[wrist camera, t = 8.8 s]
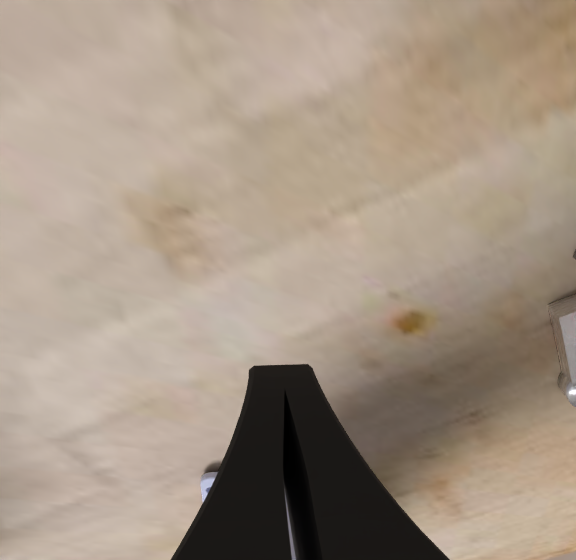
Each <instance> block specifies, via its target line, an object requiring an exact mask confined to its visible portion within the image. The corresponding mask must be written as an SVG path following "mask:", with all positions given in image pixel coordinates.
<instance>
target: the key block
mask: <svg viewBox="0 0 576 560" xmlns="http://www.w3.org/2000/svg"><path fill="white" fill-rule="evenodd" d="M548 309H549V313H550V318H551V323H552V327H553V332H554V337H555V342H556V346H557V351H558V356H559V360H560V365H561V370H562V372H561V373H560V375H559V378H558V385H559V388H560V389H561V391H562V392H563V393H564V395H565V396H566V398H567V399H568V400H569V402H570V403H571V404H572V405H573V406H574V407H576V294H574V295H571V296H569V297H566V298H564V299H561V300H558V301H556V302H553V303H550V304H548Z"/></svg>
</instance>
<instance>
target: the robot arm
mask: <svg viewBox="0 0 576 560" xmlns="http://www.w3.org/2000/svg"><path fill="white" fill-rule="evenodd" d="M201 492H202V500H203V504H202V506H201V508H200V510H199V512H198V514H197V515H196V517H195V519H194V521H193V523H192V524H191V526H190V528H189V529H188V531H187V533H186V535H185V536H184V538H183V540H182V542H181V543H180V545H179V547H178V548H177V550H176V552H175V553H174V555H173V557H172V558H171V560H449V559H448V557H447V556H446V555H445V554H444V553H443V552H442V551H441V550H440V549H439V548H438V547H437V546H436V545H435V544H434V543H433V542H432V541H431V540H430V539H429V538H428V537H427V536H426V535H425V534H424V533H423V532H422V531H421V530H420V529H419V528H418V526H417V525H416V524H415V523H414V522H413V521H412V520H411V518H410V517H409V516H408V515H407V514H406V513H405V512H404V510H403V509H402V508H401V507H400V506H399V505H398V503H397V502H396V501H395V500H394V498H393V497H392V496H391V495H390V494H389V492H388V491H387V490H386V489H385V487H384V486H383V485H382V483H381V482H380V481H379V480H378V478H377V477H376V475H375V474H374V473H373V471H372V470H371V469H370V467H369V466H368V464H367V463H366V462H365V460H364V459H363V457H362V456H361V455H360V453H359V452H358V450H357V449H356V447H355V446H354V444H353V443H352V441H351V440H350V438H349V436H348V435H347V433H346V431H345V430H344V428H343V427H342V425H341V423H340V422H339V420H338V418H337V417H336V415H335V413H334V412H333V410H332V408H331V406H330V404H329V402H328V401H327V399H326V397H325V395H324V393H323V391H322V389H321V387H320V385H319V383H318V380H317V378H316V376H315V374H314V371H313V368H312V367H311V366H309V365H308V364H300V365H265V366H253V367H252V368H251V369H250V370H249V379H248V386H247V391H246V395H245V399H244V403H243V407H242V410H241V414H240V417H239V419H238V422H237V425H236V428H235V431H234V434H233V437H232V440H231V442H230V445H229V447H228V450H227V452H226V454H225V457H224V459H223V461H222V464H221V466H220V468H219V471H218V472H209V473H205V474H203V475H202V477H201Z"/></svg>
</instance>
